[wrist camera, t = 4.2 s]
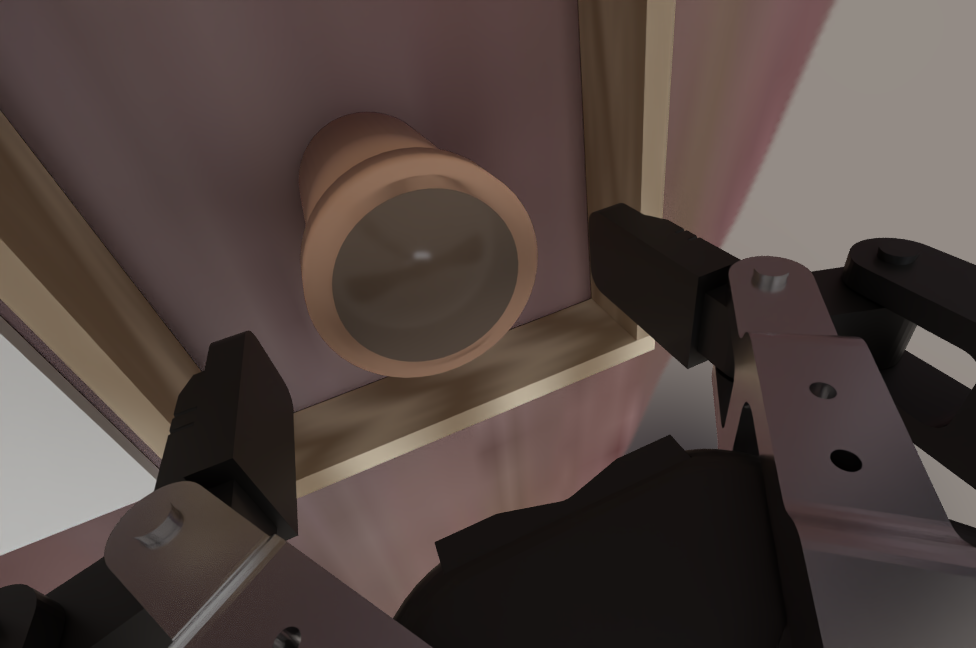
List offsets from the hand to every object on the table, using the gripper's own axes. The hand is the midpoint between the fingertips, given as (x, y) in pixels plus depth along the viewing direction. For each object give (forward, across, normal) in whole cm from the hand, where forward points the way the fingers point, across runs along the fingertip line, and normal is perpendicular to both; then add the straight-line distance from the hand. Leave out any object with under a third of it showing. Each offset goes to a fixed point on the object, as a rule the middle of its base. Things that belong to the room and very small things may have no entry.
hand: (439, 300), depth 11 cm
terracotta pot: (+9, 0, 0) cm, 9 cm away
